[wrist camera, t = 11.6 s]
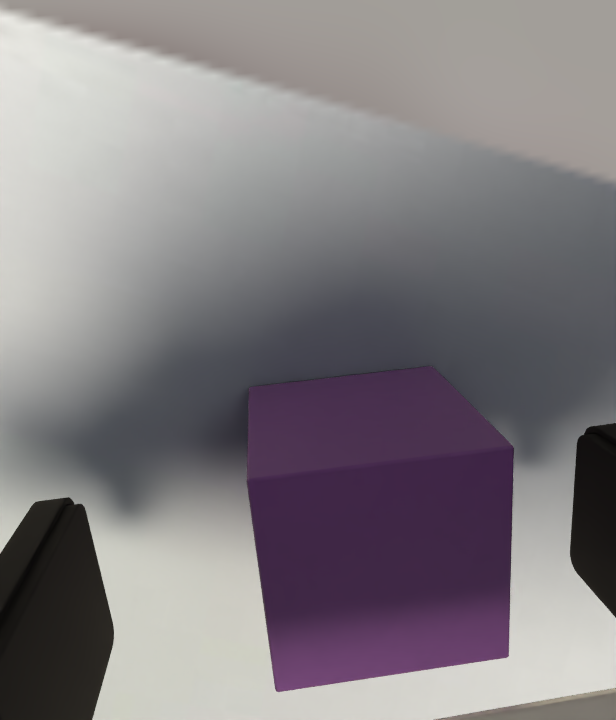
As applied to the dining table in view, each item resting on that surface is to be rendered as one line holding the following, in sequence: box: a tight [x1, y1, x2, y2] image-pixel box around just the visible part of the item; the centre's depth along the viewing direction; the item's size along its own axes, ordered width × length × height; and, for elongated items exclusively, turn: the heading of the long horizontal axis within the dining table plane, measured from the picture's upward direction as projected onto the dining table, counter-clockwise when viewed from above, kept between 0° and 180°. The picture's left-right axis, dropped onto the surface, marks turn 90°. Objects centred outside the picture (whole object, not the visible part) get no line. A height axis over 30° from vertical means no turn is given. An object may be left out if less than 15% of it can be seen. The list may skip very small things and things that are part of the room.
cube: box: [247, 366, 514, 692], centre depth 11 cm, size 4×4×4 cm
